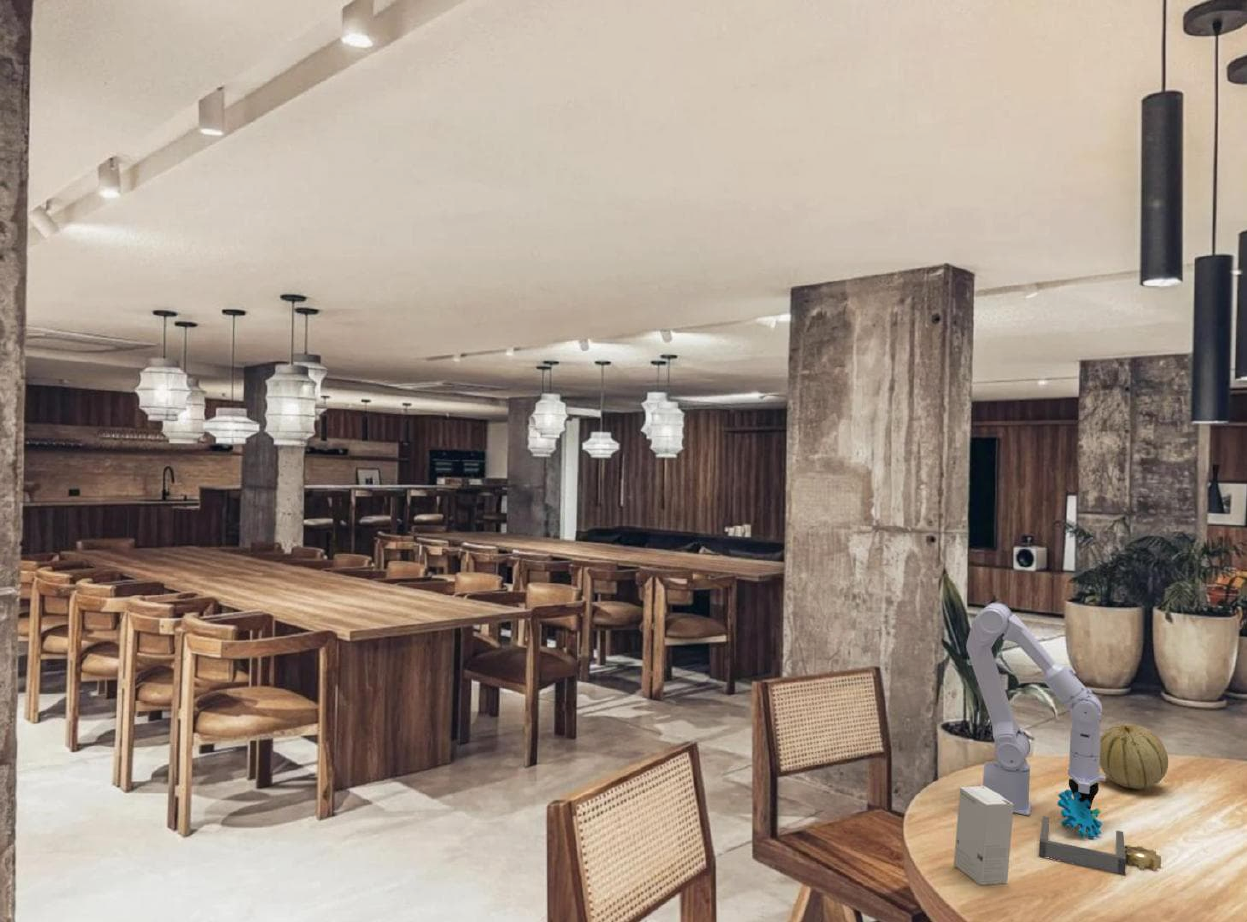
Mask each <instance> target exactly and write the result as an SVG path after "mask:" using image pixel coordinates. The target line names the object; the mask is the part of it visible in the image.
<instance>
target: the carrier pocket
mask: <svg viewBox="0 0 1247 922" xmlns="http://www.w3.org/2000/svg"><path fill="white" fill-rule="evenodd" d="M1049 834H1050V817H1049V816H1046V815H1045V816H1044V815H1043V816H1042V819H1041V828H1040V835H1039V844H1038V846H1039V847H1038V857H1039V856H1041V857H1040V858H1043V857H1049V858H1052V859H1055V860H1054V861H1057V860H1060V861H1059V862H1061V861H1062V863H1067V864H1070V863H1073V864H1072V865H1075V864H1076V865H1075V866H1080V867H1086V868H1090V869H1093V870H1099V871H1102V870H1103V872H1107V873H1108V872H1109V873H1113V874H1116V875H1122V876H1126V867H1127V866H1129V867H1130V866H1133V867H1136V868H1138V870H1141V871H1145V870H1151V871H1154V872H1156V871H1158V868H1159V869H1162V856H1161V855H1159V854H1157V851H1155V850H1154V849H1146V848H1144V846H1141V845H1137V846H1131V845H1130V844H1129V845H1128V844H1125V837H1124V836H1125V834H1124V831H1121V830H1116V831H1115V854H1114V853H1110V852H1106V851H1101V850H1100V851H1099V850H1095V849H1090V848H1085V847H1080V846H1077V845H1071V844H1068V843H1067V844H1066V843H1061V842H1057V841H1052V840H1049ZM1052 859H1051V860H1052ZM1126 865H1127V866H1126Z"/></svg>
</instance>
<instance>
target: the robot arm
mask: <svg viewBox="0 0 1247 922" xmlns="http://www.w3.org/2000/svg"><path fill="white" fill-rule="evenodd" d="M1002 634H1003V637H1002V638H1001V639H1002V640H1004V641H1007V642H1011V643H1015V644H1016V645H1018V646H1019V648H1020V649H1021V650H1022V651H1023V652H1024V653H1025V654H1026V655H1027V656H1028V658H1029V659H1031V660H1032V661H1033V663H1035V665H1036V666H1038V668H1039V669H1041V671H1042V672H1043V680H1042V681H1043V683H1045V684H1046V686H1047V687H1048V688H1049V689H1050V690H1051V691H1052V693H1053V694H1054V695H1055V696H1056V697H1057V698H1058V699H1059V700H1060V702H1061V703H1062V704H1063V706H1066V707H1067V708H1069V715H1070V718H1071V728H1070V732H1069V733H1070V734H1069V758H1068V760H1069V761H1068V762H1069V763H1068V770H1067V775H1068V776H1069V777H1070V778H1069V779H1068V786H1069V790H1071V791H1072V796H1073V794H1074V793H1076V792H1078V793H1079V794H1080V795H1081V798H1080V799H1078V800H1079V801H1080V802H1083V801H1085V800H1086V799H1087V800H1088V801H1089V802H1090V803H1091V805H1090V806H1089V807H1087V808H1088V809H1090V810H1092V805H1093V802H1094V799H1095V797H1096V795H1097V794H1098V793H1099V788H1100V787H1099V786H1100V785H1099V782H1100V781H1101V782H1105V781H1106V778H1107V776H1106V775H1103V774H1100V769H1101V767H1100V743H1101V736H1102V732H1101V731H1100V730H1101V727H1102V725H1101V720H1102V717H1103V716H1102V712H1103V705H1102V703H1101V701H1100V699H1099V697H1098V696H1097V695H1096V694H1094V693H1093V691H1092V690H1091V688H1089V687H1088V688H1086V686H1085V685H1084V684H1083V683H1082V682H1081V681H1080V679H1078V678H1077V676H1076V674H1077V673H1076V670H1075V669H1074V668H1072V667H1070V668H1069V667H1068V666H1067V665H1066V664H1062V663H1057V662H1056V661H1055V660H1054V659H1053V658H1052V656H1050V654H1049V652H1047V650H1046V649H1045V648H1044V647H1043V645H1042V644H1041V643H1040V641H1038V639H1037V638H1036V636H1034V634H1032V632H1031V631H1030V630H1029V628H1028V627H1027V626H1026V624H1024V623H1023V621H1022V620H1021V619H1020V618H1019V617H1018V616H1017V615H1016V614H1015V613H1013V614H1012V611H1011V609H1010V608H1009V607H1008V606H1007V605H1006V604H1004V603H1001V602H992V603H989V604H988V605H985V607H984V608H982V609H981V610H980V611H979V612H978V613H977V615H976V616H975V617H974V618H973V619H972V622H971V626H970V630H969V634H968V638H967V641H966V644H965V646H966V652H967V655H968V657H969V660H970V663H971V666H972V669H973V672H974V675H975V678H976V681H977V683H978V688H979V690H980V693H981V697H982V699H983V701H984V705H985V707H986V711H987V713H988V716H989V717H988V718H989V720H990V723H991V725H992V726H991V727H992V728H991V729H992V736H993V737H992V738H993V740H994V745H995V747H994V758H995V759H994V760H993V762H992V761H984V766H983V776H982V786H985V787H987V788H989V789H990V790H992V791H994V792H996V793H998V794H1000V795H1001V796H1002V797H1003V798H1005V799H1006V800H1008V801H1009V802H1011V803H1013V804H1014V806H1013V814H1018V815H1019V814H1020V815H1023V816H1024V815H1025V816H1030V815H1031V809H1032V802H1031V801H1030V782H1031V781H1030V780H1031V779H1030V778H1031V777H1030V776H1031V766H1030V764H1029V763H1028V761H1027V756H1028V755H1029V754H1030V752H1031V742H1030V740H1029V738H1028V737H1027V736H1026V735H1025V734H1024V733H1023V731H1022V729H1021V727H1020V723H1018V721H1017V719H1016V718H1015V716H1014V713H1013V710H1012V707H1011V704H1010V701H1009V699H1008V696H1007V693H1006V692H1007V691H1006V690H1005V687H1004V683H1003V680H1002V677H1001V674H1000V672H999V669H998V666H997V662H996V660H995V658H994V655H993V652H992V648H993V645H994V644H995V642H996V641H997V639H998V637H1000V636H1001V635H1002ZM1072 798H1074V796H1073V797H1072Z"/></svg>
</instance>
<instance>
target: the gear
mask: <svg viewBox="0 0 1247 922" xmlns="http://www.w3.org/2000/svg"><path fill="white" fill-rule="evenodd" d="M1072 796H1074V797H1072ZM1058 798H1059V800H1057V803H1056V804H1057V806H1058V807H1061V808H1062V810H1060V815H1061V817H1062V818H1065V819H1063V820H1061V822H1060V824H1061V826H1063V827H1066V826H1069V827H1070V828H1071V829H1074V828H1075V827H1077V826H1079V827H1080V828H1079V829H1078V830H1077V833H1078V835H1080V836H1081V837H1084V836H1085V835H1086V836H1087V838H1089V839H1091V840H1092V839H1094V838H1096V837H1097V836H1099V835H1101V834H1102V831H1101V829H1100V828H1101V827H1103V824H1102V821H1101V820H1098V819H1097V818H1098V817H1099V814H1100V813H1101V810H1100V809H1099V808H1097V807H1096V808H1095V809H1093V810H1092V809H1091V810H1090V809H1088V808H1087V807H1089V806H1090V805H1091V803H1090V802H1089V801H1088V800H1087V799H1086V800H1085V801H1083V802H1080V801H1079V800H1078V799H1080V798H1081V795H1080V794H1079V793H1078V792H1076V793H1074V794H1072V791H1071V789H1065V790H1064V791H1062V792H1060V793H1059V794H1058ZM1091 806H1092V805H1091ZM1086 831H1087V832H1086Z"/></svg>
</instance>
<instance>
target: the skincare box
mask: <svg viewBox="0 0 1247 922" xmlns="http://www.w3.org/2000/svg"><path fill="white" fill-rule="evenodd" d="M958 800H959V801H958V809H957V820H956V821H957V824H956V834H955V845H954V846H955V847H954V855H953V856H954V857H953V859H954V860H953V864H954V865H953V866H955V867H956V868H957V869H958V870H960V871H962V872H963V873H964V874H966V876H968V877H970V878H972V880H973V881H974V882H976V883H977V884H979V886H987V884H990V885H999V884H998V883H1004V884H1007V883H1008V877H1009V868H1010V867H1009V863H1010V852H1011V841H1012V839H1011V838H1012V829H1013V818H1014V816H1013V815H1014V813H1013V806H1014V804H1013V803H1011V802H1009V801H1008V800H1006V799H1005V798H1003V797H1002V796H1001V795H1000V794H998V793H996V792H994V791H992V790H990V789H989V788H987V787H985V786H983V785H981V786H960V787H959V799H958ZM1006 882H1007V883H1006ZM996 883H997V884H996Z"/></svg>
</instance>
